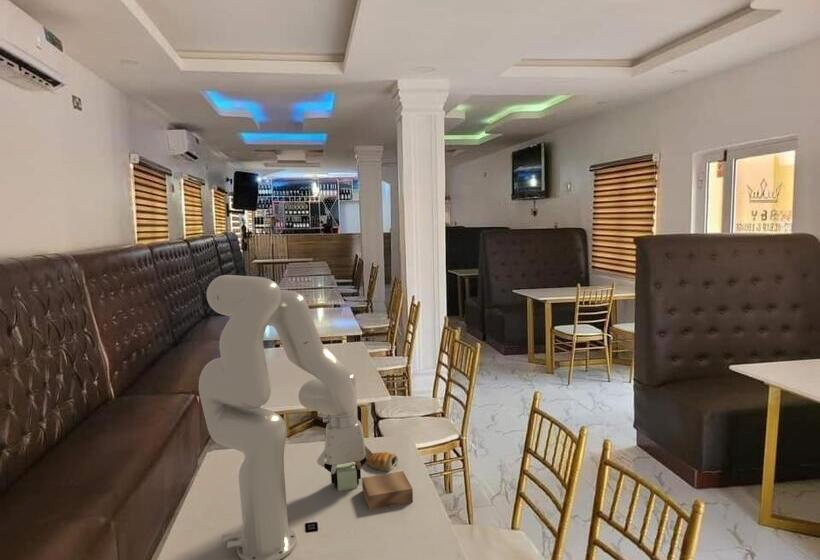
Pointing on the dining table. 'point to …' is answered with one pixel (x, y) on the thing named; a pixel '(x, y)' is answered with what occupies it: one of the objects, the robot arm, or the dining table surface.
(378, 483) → the walnut block
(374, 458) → the pastry
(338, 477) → the green cube
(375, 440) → the dining table surface
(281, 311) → the robot arm
